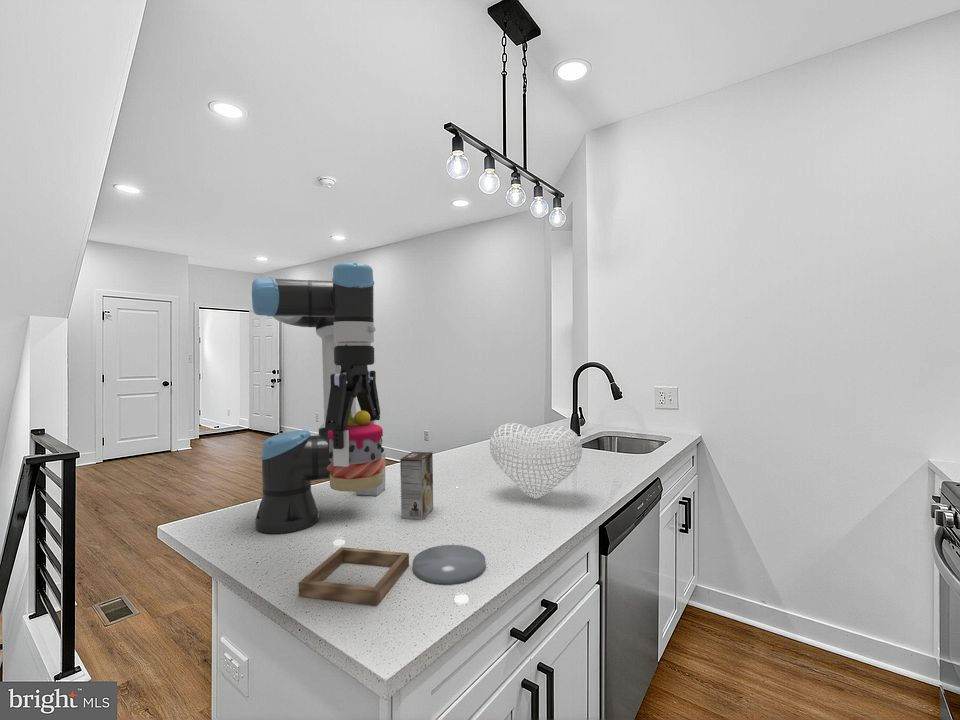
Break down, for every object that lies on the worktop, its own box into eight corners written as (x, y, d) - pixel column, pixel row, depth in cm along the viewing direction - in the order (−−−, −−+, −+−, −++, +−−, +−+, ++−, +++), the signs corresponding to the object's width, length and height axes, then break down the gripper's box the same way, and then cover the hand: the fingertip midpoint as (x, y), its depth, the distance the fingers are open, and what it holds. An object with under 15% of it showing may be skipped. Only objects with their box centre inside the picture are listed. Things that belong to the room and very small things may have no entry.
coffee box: (412, 507, 131) (411, 451, 131) (433, 508, 130) (433, 451, 130) (400, 518, 122) (399, 458, 122) (423, 520, 121) (422, 459, 121)
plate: (401, 580, 89) (401, 574, 89) (426, 547, 104) (426, 542, 104) (476, 587, 86) (476, 581, 86) (491, 553, 101) (491, 547, 101)
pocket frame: (298, 596, 84) (298, 582, 84) (341, 558, 99) (341, 547, 99) (377, 605, 80) (377, 591, 80) (409, 565, 96) (408, 553, 95)
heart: (481, 500, 137) (481, 425, 136) (501, 485, 151) (500, 418, 150) (575, 513, 125) (575, 431, 125) (587, 496, 139) (586, 423, 139)
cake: (389, 476, 94) (388, 403, 94) (375, 492, 84) (374, 410, 83) (339, 476, 95) (338, 403, 94) (319, 492, 84) (317, 410, 84)
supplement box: (354, 495, 142) (354, 454, 142) (364, 488, 149) (364, 449, 149) (377, 496, 141) (376, 455, 140) (386, 489, 148) (385, 450, 148)
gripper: (342, 343, 77) (343, 475, 77) (395, 344, 99) (396, 447, 100) (301, 344, 78) (303, 473, 79) (363, 345, 101) (364, 445, 101)
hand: (355, 458), depth 89 cm, fingers closed on cake, 10 cm apart
